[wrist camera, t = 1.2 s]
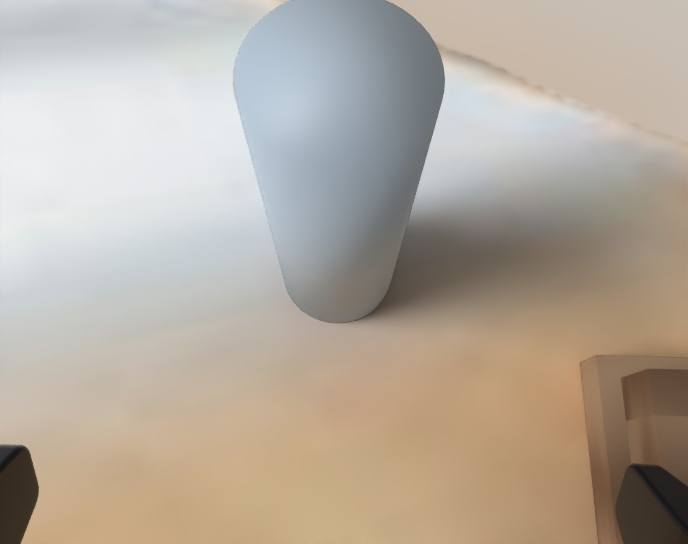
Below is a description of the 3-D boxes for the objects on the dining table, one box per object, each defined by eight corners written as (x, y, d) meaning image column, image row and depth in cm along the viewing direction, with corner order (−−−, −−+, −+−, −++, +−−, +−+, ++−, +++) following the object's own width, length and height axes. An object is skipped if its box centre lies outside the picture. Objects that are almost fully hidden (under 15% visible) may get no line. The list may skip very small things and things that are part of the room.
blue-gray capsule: (391, 324, 24) (448, 172, 12) (280, 321, 24) (223, 165, 12) (391, 222, 25) (442, -7, 13) (286, 219, 25) (241, -12, 13)
